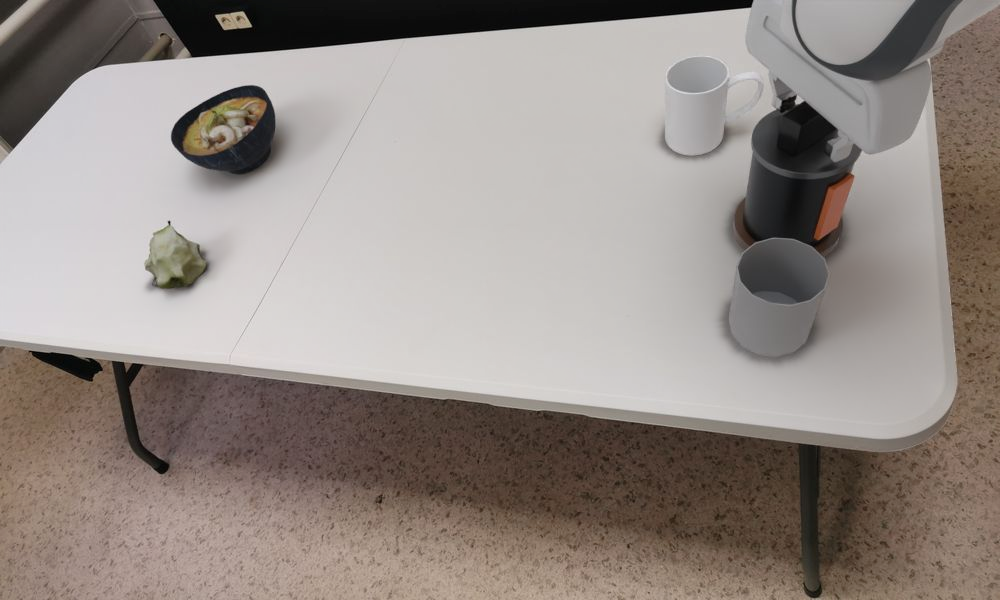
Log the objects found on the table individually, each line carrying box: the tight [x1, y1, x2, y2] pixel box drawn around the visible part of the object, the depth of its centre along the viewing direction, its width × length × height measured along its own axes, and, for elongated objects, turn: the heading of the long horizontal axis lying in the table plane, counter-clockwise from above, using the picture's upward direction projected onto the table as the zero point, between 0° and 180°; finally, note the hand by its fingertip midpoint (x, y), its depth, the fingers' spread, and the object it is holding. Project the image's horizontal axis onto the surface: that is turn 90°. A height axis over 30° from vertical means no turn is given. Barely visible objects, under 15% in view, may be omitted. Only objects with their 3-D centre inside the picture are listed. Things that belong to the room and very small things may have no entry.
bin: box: [743, 100, 863, 247], centre depth 67 cm, size 11×11×17 cm
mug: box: [664, 55, 764, 157], centre depth 82 cm, size 12×8×10 cm, turn 81°
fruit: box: [143, 220, 207, 290], centre depth 92 cm, size 9×9×8 cm
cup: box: [727, 238, 831, 358], centre depth 64 cm, size 8×8×10 cm
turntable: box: [732, 196, 844, 258], centre depth 75 cm, size 12×12×2 cm
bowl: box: [170, 84, 277, 175], centre depth 104 cm, size 17×17×10 cm
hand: (808, 130), depth 63 cm, fingers open, 7 cm apart
